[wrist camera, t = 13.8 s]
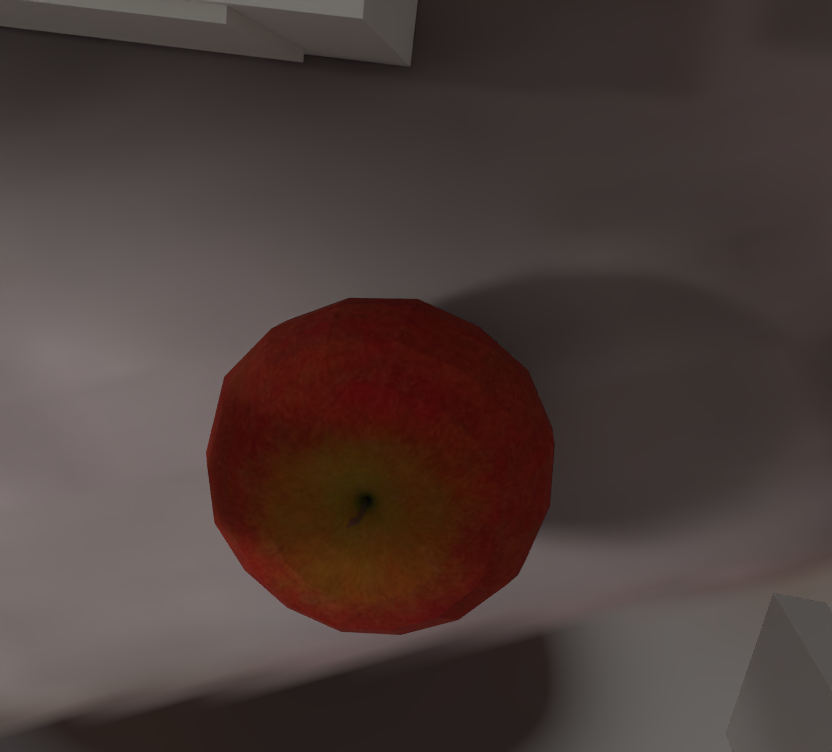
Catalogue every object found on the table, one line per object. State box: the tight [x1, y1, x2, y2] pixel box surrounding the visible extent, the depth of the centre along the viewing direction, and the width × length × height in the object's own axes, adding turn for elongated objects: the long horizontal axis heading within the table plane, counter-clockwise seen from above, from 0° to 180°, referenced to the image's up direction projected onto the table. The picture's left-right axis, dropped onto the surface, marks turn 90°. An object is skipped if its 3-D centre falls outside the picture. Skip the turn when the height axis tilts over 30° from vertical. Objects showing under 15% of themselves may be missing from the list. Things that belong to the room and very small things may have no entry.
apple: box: [206, 298, 555, 635], centre depth 16 cm, size 8×8×8 cm
